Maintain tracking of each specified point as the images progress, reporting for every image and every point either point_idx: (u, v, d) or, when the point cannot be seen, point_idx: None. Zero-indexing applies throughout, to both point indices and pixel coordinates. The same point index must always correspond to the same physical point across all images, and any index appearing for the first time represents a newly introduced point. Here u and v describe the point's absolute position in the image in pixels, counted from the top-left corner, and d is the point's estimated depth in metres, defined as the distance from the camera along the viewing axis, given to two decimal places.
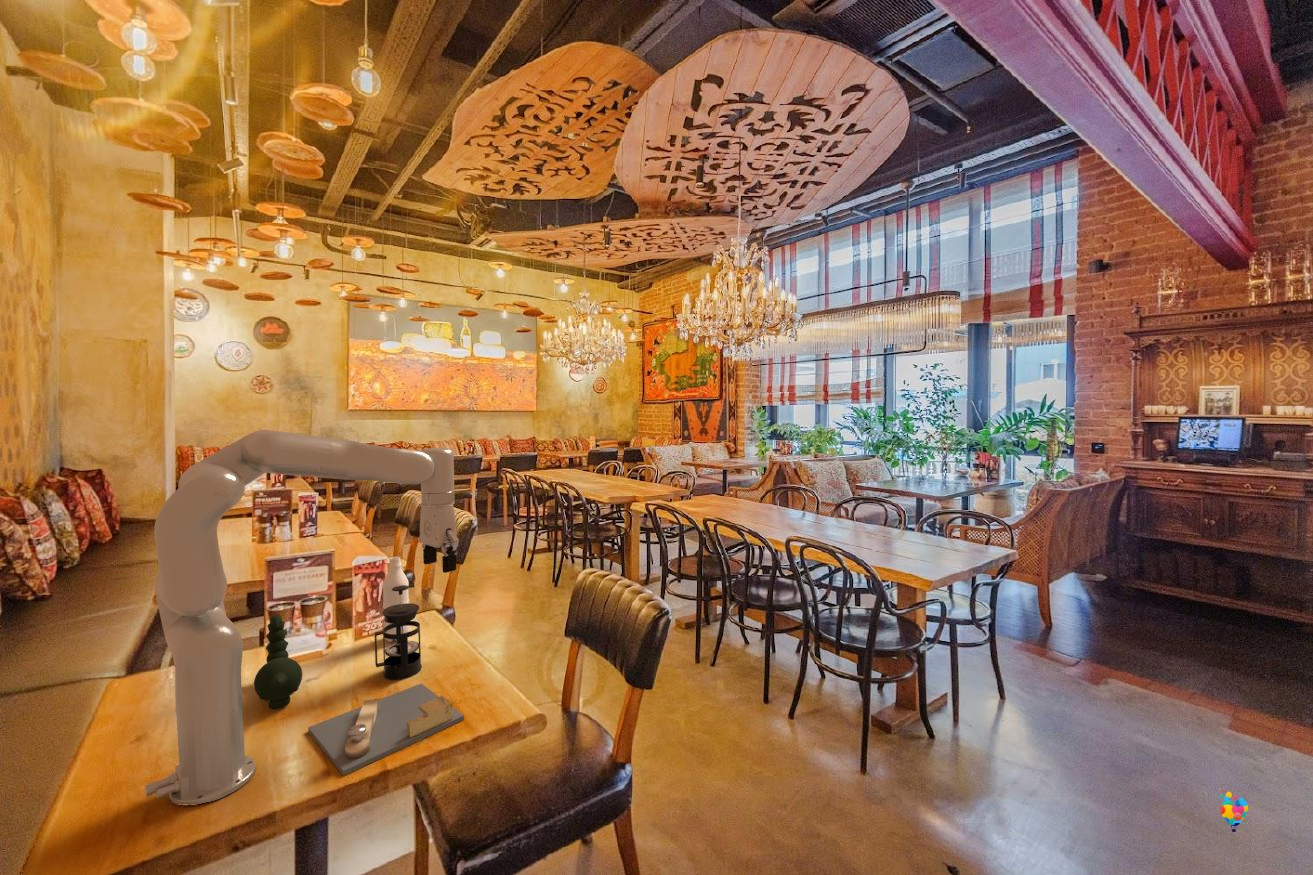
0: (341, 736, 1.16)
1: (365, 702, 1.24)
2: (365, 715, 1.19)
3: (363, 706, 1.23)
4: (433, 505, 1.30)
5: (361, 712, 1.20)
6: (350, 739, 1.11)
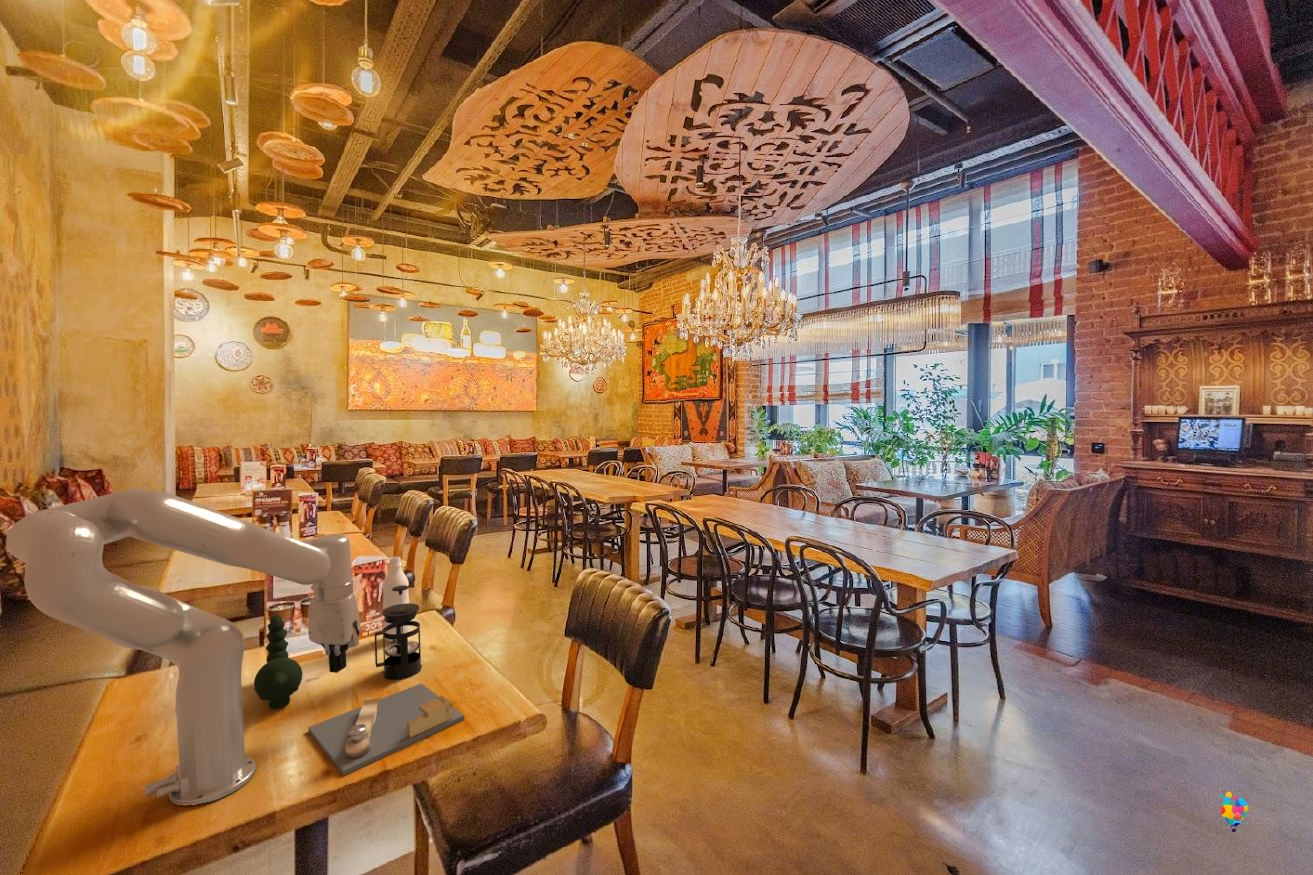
0: (341, 736, 1.16)
1: (365, 702, 1.24)
2: (365, 715, 1.19)
3: (363, 706, 1.23)
4: (335, 600, 1.18)
5: (361, 712, 1.20)
6: (350, 739, 1.11)
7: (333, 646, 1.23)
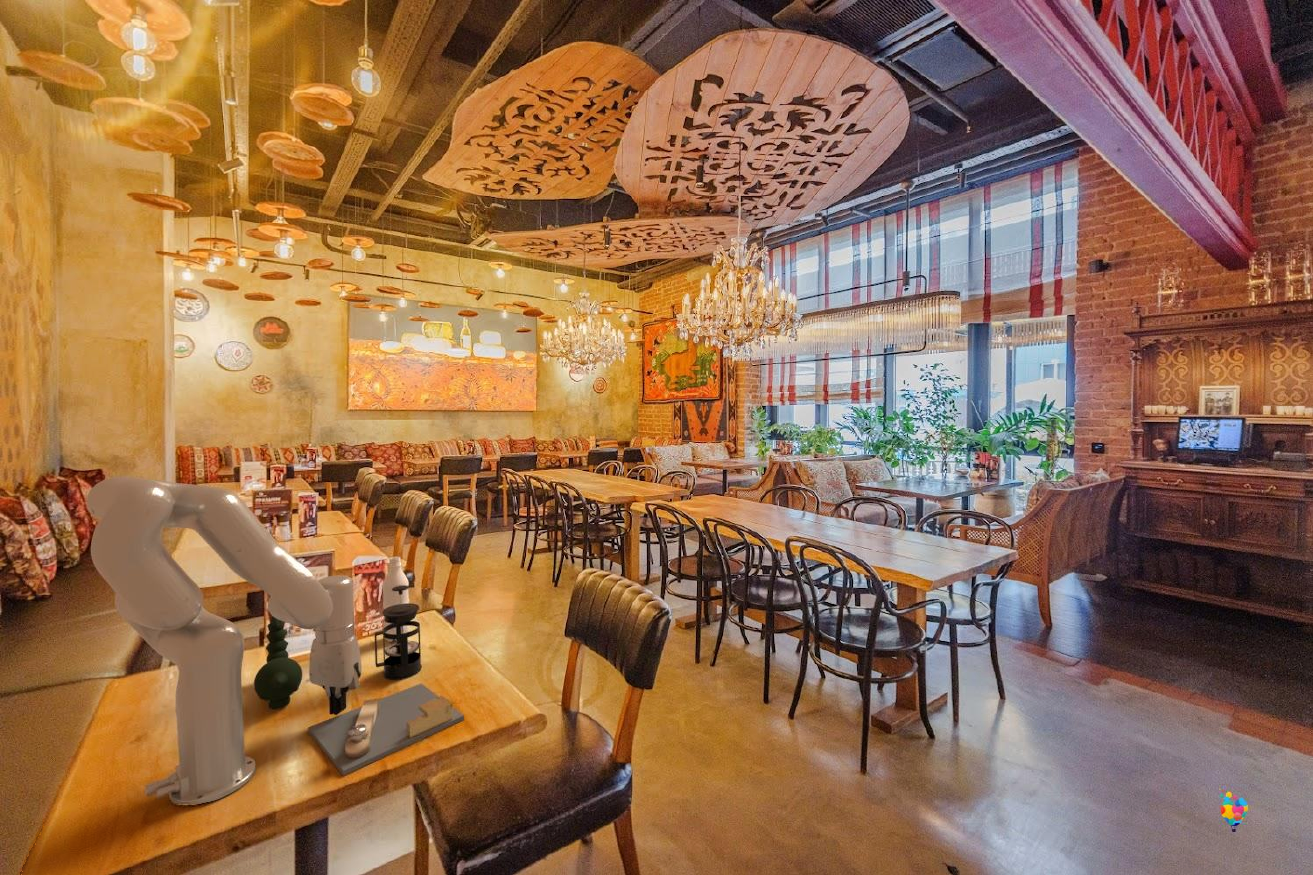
0: (341, 736, 1.16)
1: (365, 702, 1.24)
2: (365, 715, 1.19)
3: (363, 706, 1.23)
4: (337, 642, 1.19)
5: (361, 712, 1.20)
6: (350, 739, 1.11)
7: (333, 688, 1.23)
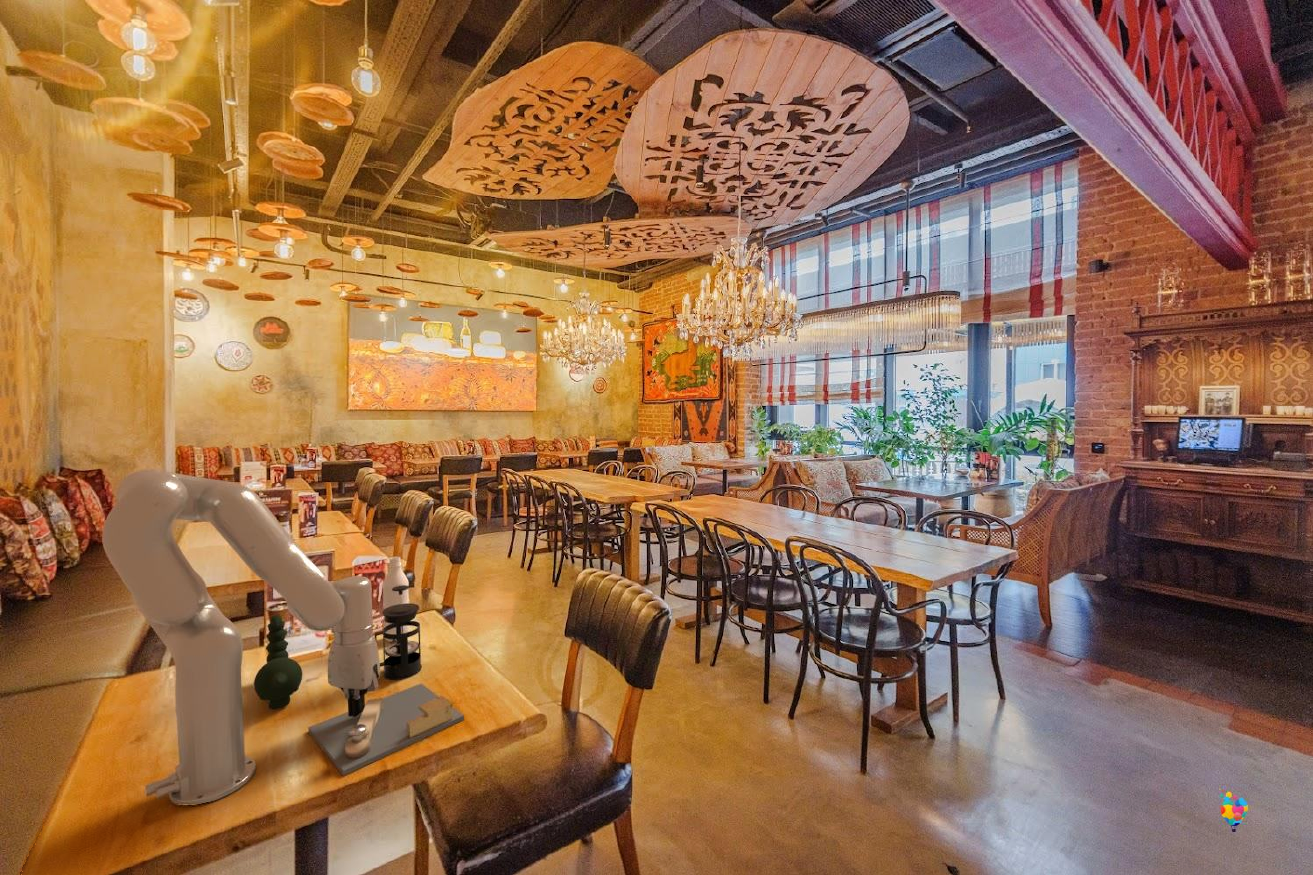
0: (341, 736, 1.16)
1: (368, 702, 1.24)
2: (367, 715, 1.19)
3: (366, 705, 1.23)
4: (356, 644, 1.18)
5: (364, 711, 1.20)
6: (350, 739, 1.11)
7: (352, 689, 1.22)
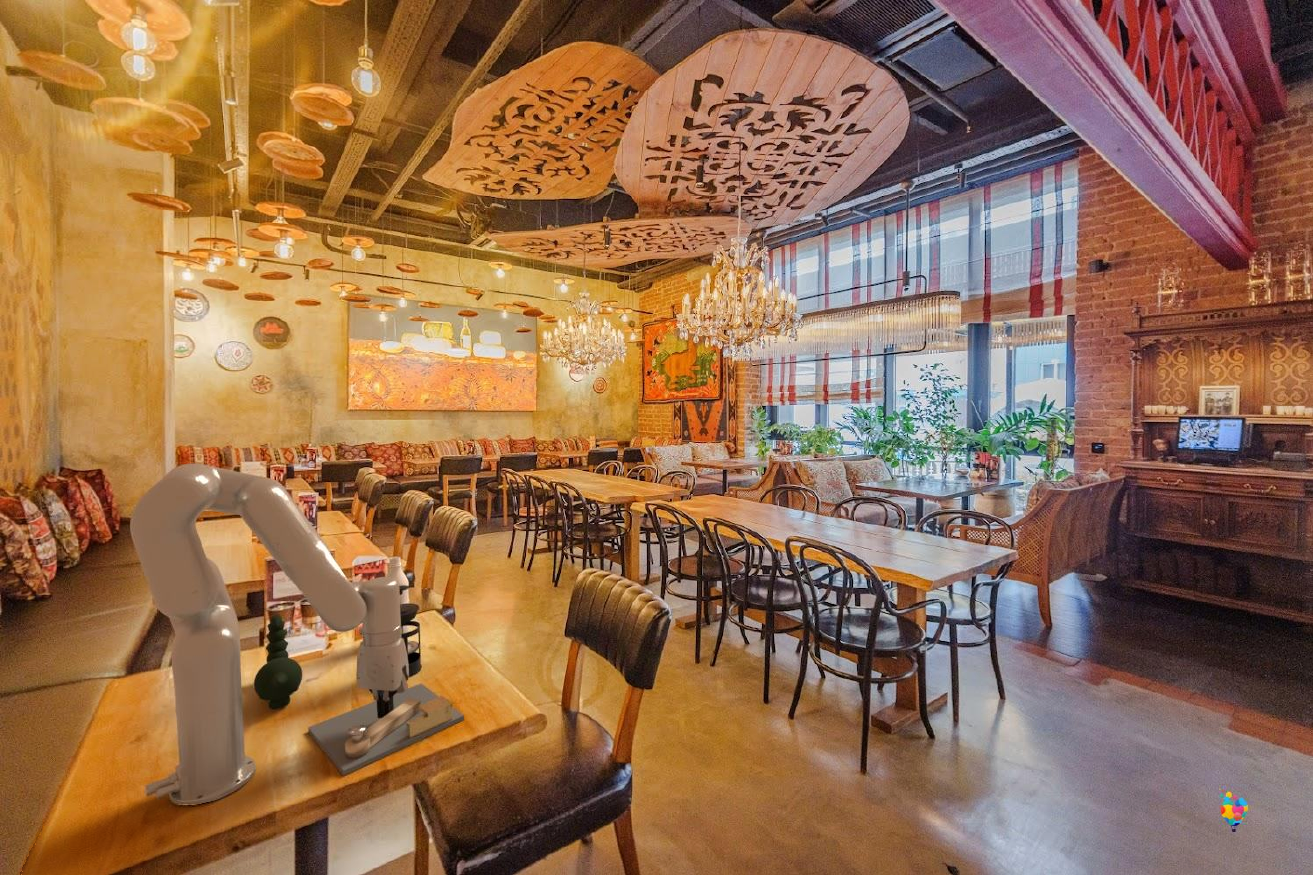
0: (341, 736, 1.16)
1: (407, 701, 1.25)
2: (391, 715, 1.19)
3: (402, 704, 1.23)
4: (386, 645, 1.17)
5: (393, 710, 1.21)
6: None
7: (381, 691, 1.21)
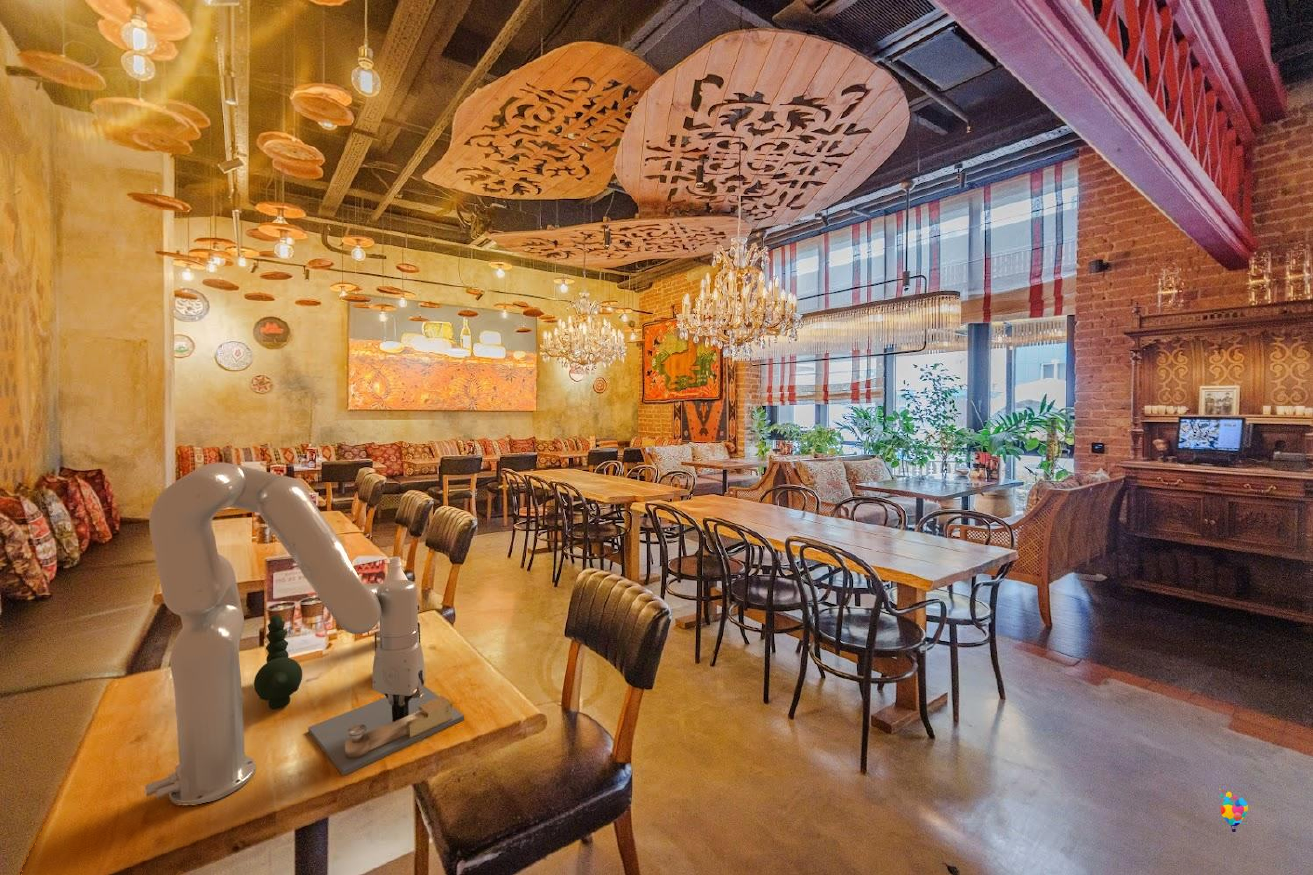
0: (341, 736, 1.16)
1: None
2: (403, 721, 1.17)
3: (421, 711, 1.21)
4: (403, 649, 1.16)
5: (409, 715, 1.19)
6: None
7: (396, 696, 1.20)
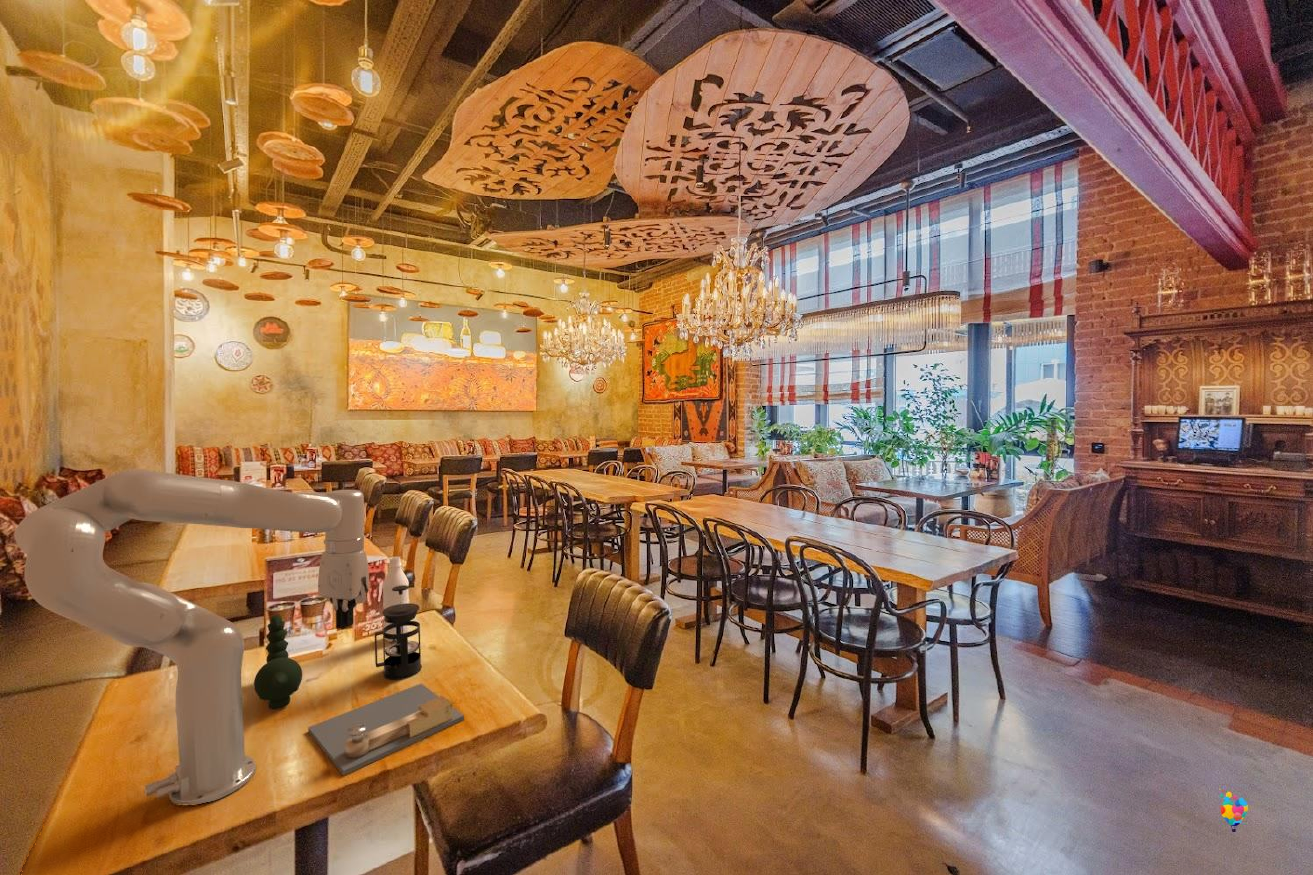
0: (341, 736, 1.16)
1: None
2: (403, 721, 1.17)
3: (421, 711, 1.21)
4: (345, 553, 1.18)
5: (409, 715, 1.19)
6: None
7: (341, 602, 1.22)
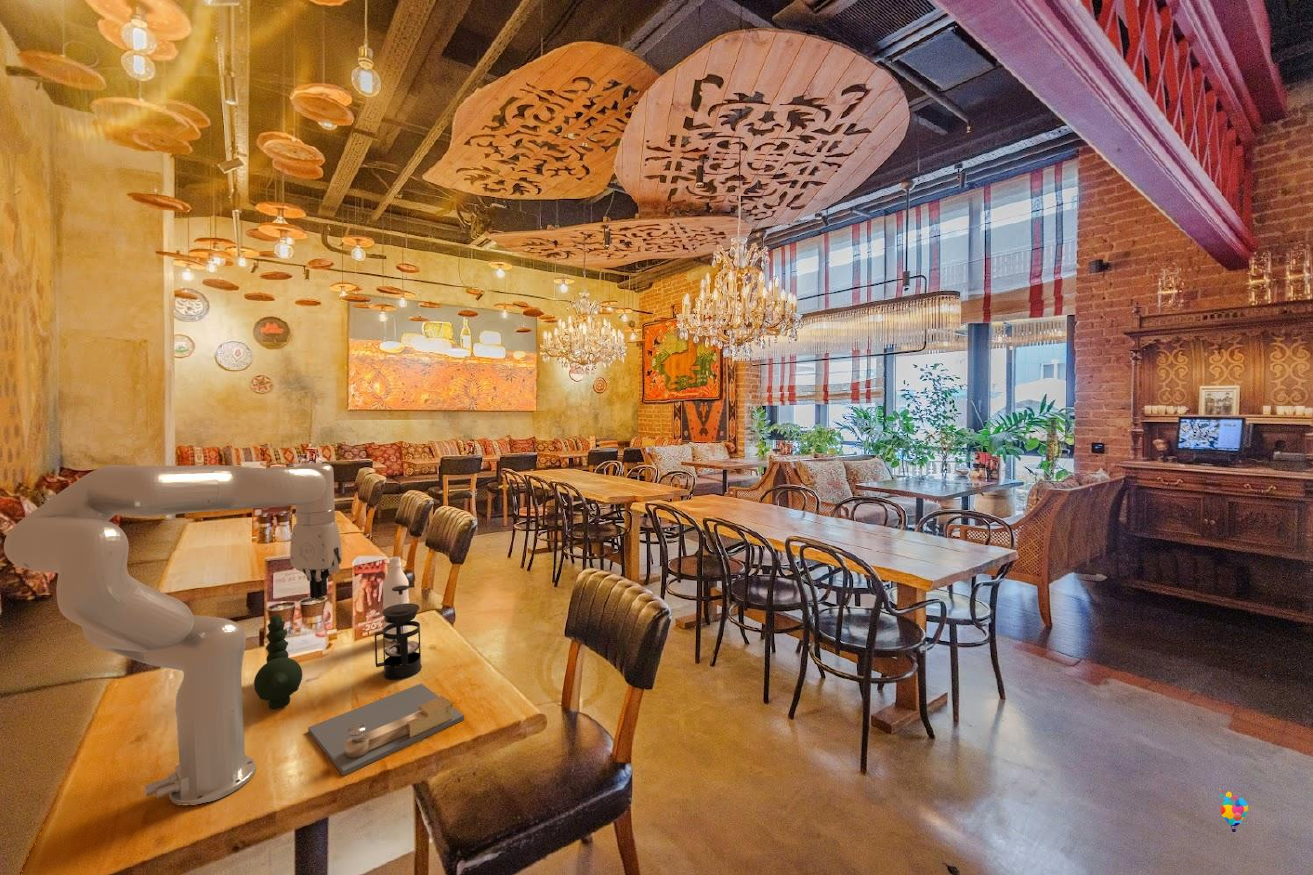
0: (341, 736, 1.16)
1: None
2: (403, 721, 1.17)
3: (421, 711, 1.21)
4: (317, 525, 1.21)
5: (409, 715, 1.19)
6: None
7: (314, 573, 1.25)
